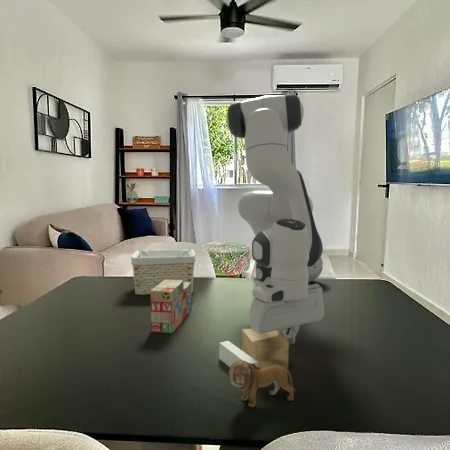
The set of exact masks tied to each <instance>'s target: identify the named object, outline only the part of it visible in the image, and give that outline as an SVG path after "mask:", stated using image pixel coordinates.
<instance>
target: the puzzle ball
mask: <svg viewBox="0 0 450 450" xmlns="http://www.w3.org/2000/svg"><path fill="white" fill-rule="evenodd" d="M323 265H324V263H323V258H322V257H320V258H319V260H318V261H317V262H316V263H315V264H314V265H313V266H311V267H307V271H308V284H309V283H311V282H313V281H314V280H315V281H316V280H317V279H318V278H319V277H320V276H321V273H322V271H323V267H324V266H323Z"/></svg>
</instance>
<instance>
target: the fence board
mask: <svg viewBox="0 0 450 450" xmlns="http://www.w3.org/2000/svg"><path fill="white" fill-rule="evenodd" d="M218 345H219V346H218V347H219V349H218V350H219V353H218V355H219V357H218V358H219V360H220V361H221V362H222V363H224V364H225V365H226V366H228V367H229V368H230V367H231V365H232V364H233V363H234V362H235V361H237V360H238V361H239V360H242V361H246V362H248V363H253V364H254V365H256V366H257V367H258V362H257V361H256V360H254V359H253V358H252V357H250V356H249V355H247V354H246V353H245V352H243V351H242V349H240V348H239V347H237V346H236V345H235V344H233V342H230V340H225V341H222V342H219V344H218Z"/></svg>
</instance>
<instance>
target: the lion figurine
mask: <svg viewBox="0 0 450 450" xmlns="http://www.w3.org/2000/svg"><path fill="white" fill-rule="evenodd" d="M228 373H229V380H230V383H231V385H232V386H233V387H237V388H238V390H239V391H240V392H243V395H242V396H241V397H240V400H242V401H247V400H248V398H249V396H250V401H249V402H248V407H250V408H254V407H255V406H256V404H257V403H256V399H257V398H256V395H257V391H258V388H265V387H269V386H271V385H272V384H273V385H274V389H272V390H269V395H271V396H273V395H276V394H277V392H279V390H281V389H283V390H285V392H288V393H289V395H287V397H286V399H287V400H288V401H289V402H291V401H293V400H294V398H295V395H294V394H295V393H294V392H296V391H297V389H296V388H295V387H294V386H293V380H292V374H291V373H290V370H289V369H288V368H285V367H284V366H281V365H272V366H269V367H265V368H258V367H257V366H256V365H254V364H253V363H248V362H246V361H242V360H239V361H238V360H237V361H235V362H234V363H233V364H232V365H231V367H229V370H228ZM280 388H281V389H280Z"/></svg>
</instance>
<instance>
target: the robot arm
mask: <svg viewBox="0 0 450 450" xmlns="http://www.w3.org/2000/svg"><path fill="white" fill-rule="evenodd" d="M304 113H305V110H304V106H303V103H302V101H301V100H300V97H299V96H298V95H297V94H293V93H284V94H275V95H274V94H271V95H262V96H259V97H255V98H254V97H253V98H250V99H246V100H242V101H241V100H238V101H237V100H236V101H234V102H232V103H231V104H229V106H228V108H227V112H226V116H225V117H226V126H227V128H228V130H229V131H230V132H229V133H230V134H231V135H232V136H233V137H235V138H239V139H244V150H245V151H244V152H245V162H246V167H247V171H248V173H249V174H250V176H251V177H252V178H253V179H254V180H255V181H256V182H258V183H260V184H261V185H264V186H265V187H268V188H269V190H252V191H248V192H247V191H246V192H244V193H242V195H241V196H240V198H239V200H238V202H237V203H238V204H237V209H238V214H239V215H240V217H241V219H243V220H244V221H245V222H246V223H247V224H248V225H249V226H250V228H251V230H252V232H253V234H254V238H253V239H252V243H251V255H252V258H253V260H254V261H255V262H256V263H255V279H256V281H255V287H253V289H252V296H253V297H252V300H251V305H250V312H249V313H250V314H249V326H250V329H253V330H254V331H255V332H257V333H259V334H262V333H267V332H272V331H276V330H277V331H278V332H279V333H280V334H281V335H282V336H283V337H284V338H285V339H286V340H287V341H288V342H289V345H292V344H295V343H296V337H297V335H298V332H299V330H300V326H302V325H303V326H304V325H308V324H312V323H317V322H321V321H323V319H324V317H325V304H324V298H323V297H324V296H323V288H322V285H321V286H320V284H318V283H313V284H309V283H308V271H307V267H311V266H313V265H314V264H315V263H316V262H317V261H318V260H319V258H320V257H321V256H322V254H323V251H324V248H323V247H324V245H323V242H322V238H321V236H320V233H319V231H318V229H317V227H316V222H315V218H314V214H313V211H314V205H313V201H312V199H311V197H310V196H309V195H308V190H307V188H306V183H305V180H304V178H303V176H302V173H301V172H300V171H299V170H298V169H297V168H296V167H295V166H294V165H293V163H292V161H291V159H290V155H289V151H288V144H287V136H286V133H288V134H291V133H292V132H294V131H296V130H298V129H299V128H300V127H301V126H302V123H303V119H304V116H305V115H304ZM321 258H322V257H321ZM289 328H290V329H289ZM288 330H289V332H288ZM287 332H288V334H287Z"/></svg>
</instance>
